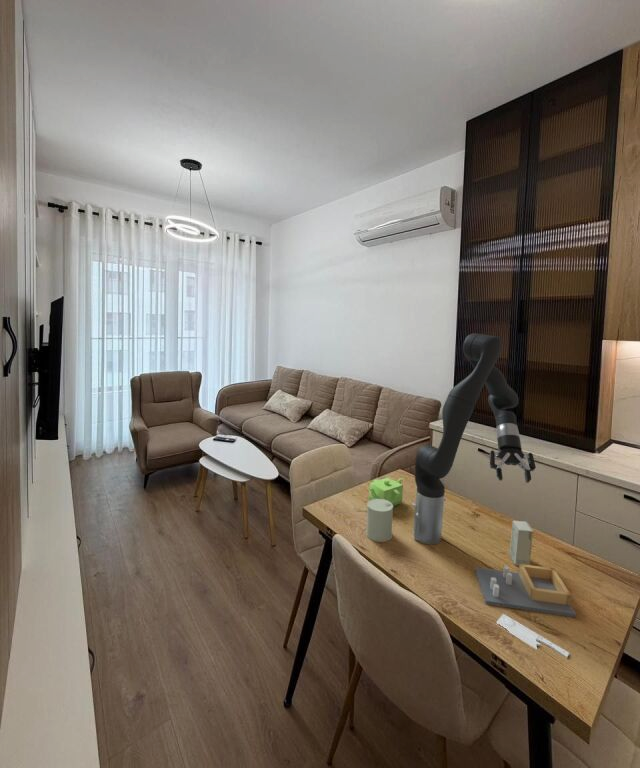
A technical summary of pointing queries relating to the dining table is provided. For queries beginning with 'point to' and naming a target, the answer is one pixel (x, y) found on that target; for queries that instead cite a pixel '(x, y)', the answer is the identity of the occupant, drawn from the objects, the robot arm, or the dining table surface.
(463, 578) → the dining table surface
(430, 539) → the robot arm
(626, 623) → the dining table surface
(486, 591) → the board
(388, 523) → the can
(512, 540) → the skincare box
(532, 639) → the white plastic strip tool
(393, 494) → the teapot
